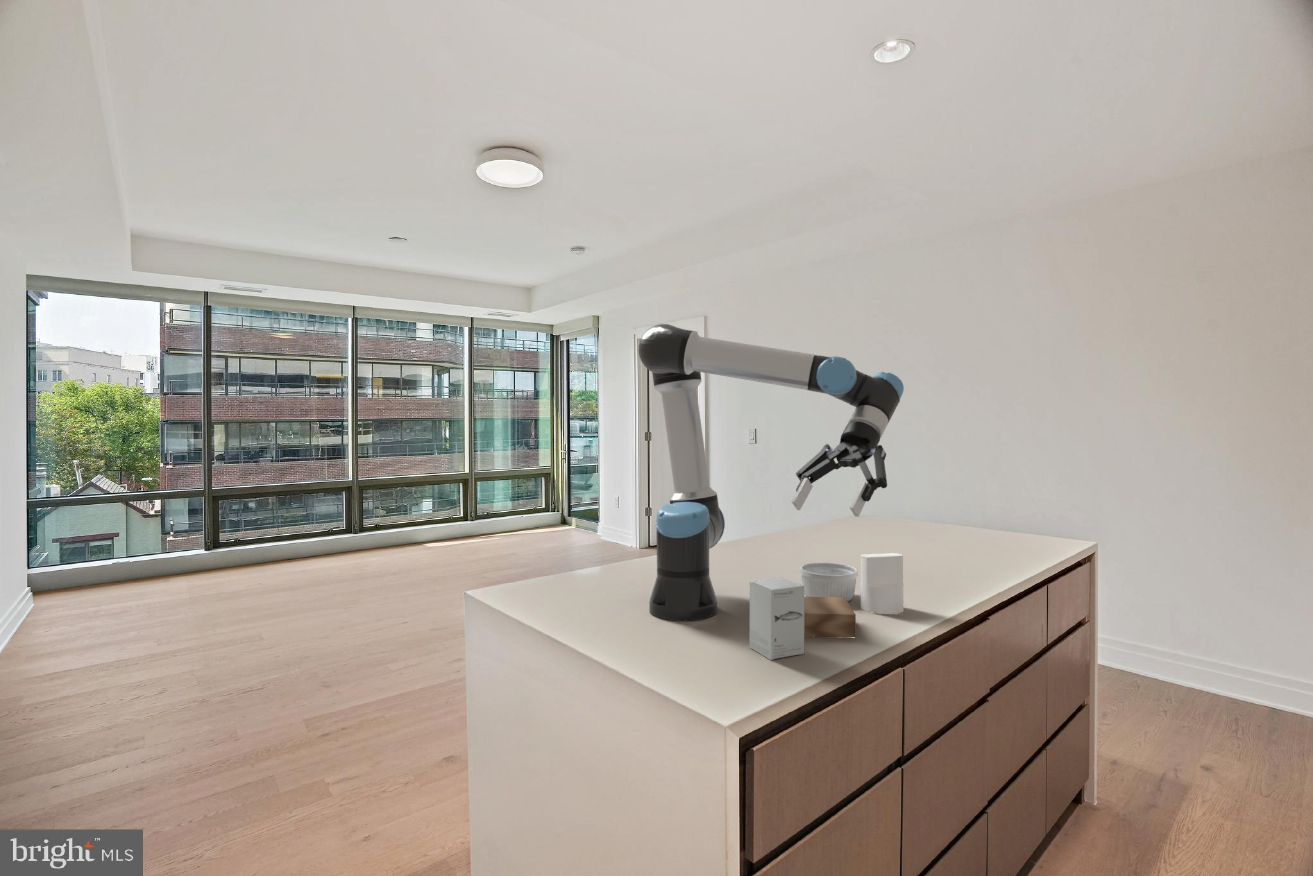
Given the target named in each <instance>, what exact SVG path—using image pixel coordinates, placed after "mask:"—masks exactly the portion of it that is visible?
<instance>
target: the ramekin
mask: <svg viewBox="0 0 1313 876" xmlns="http://www.w3.org/2000/svg"><path fill="white" fill-rule="evenodd" d="M799 569H800V570H799V573H800V575H801V585H804V596H805V597H844V598H845V599H846V601H847V602H848V603H849V602H850V601H851V600H852V599H853V598H854V596H855V593H856V592H855V591H856V585H857V578H858V575H859V574H858V570H857V568H856V567H854V566H852V565H848V564H843V563H839V562H838V563H837V562H836V563H835V562H826V561H825V562H810V563H805V564H803V565H801V566H800V568H799Z"/></svg>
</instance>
